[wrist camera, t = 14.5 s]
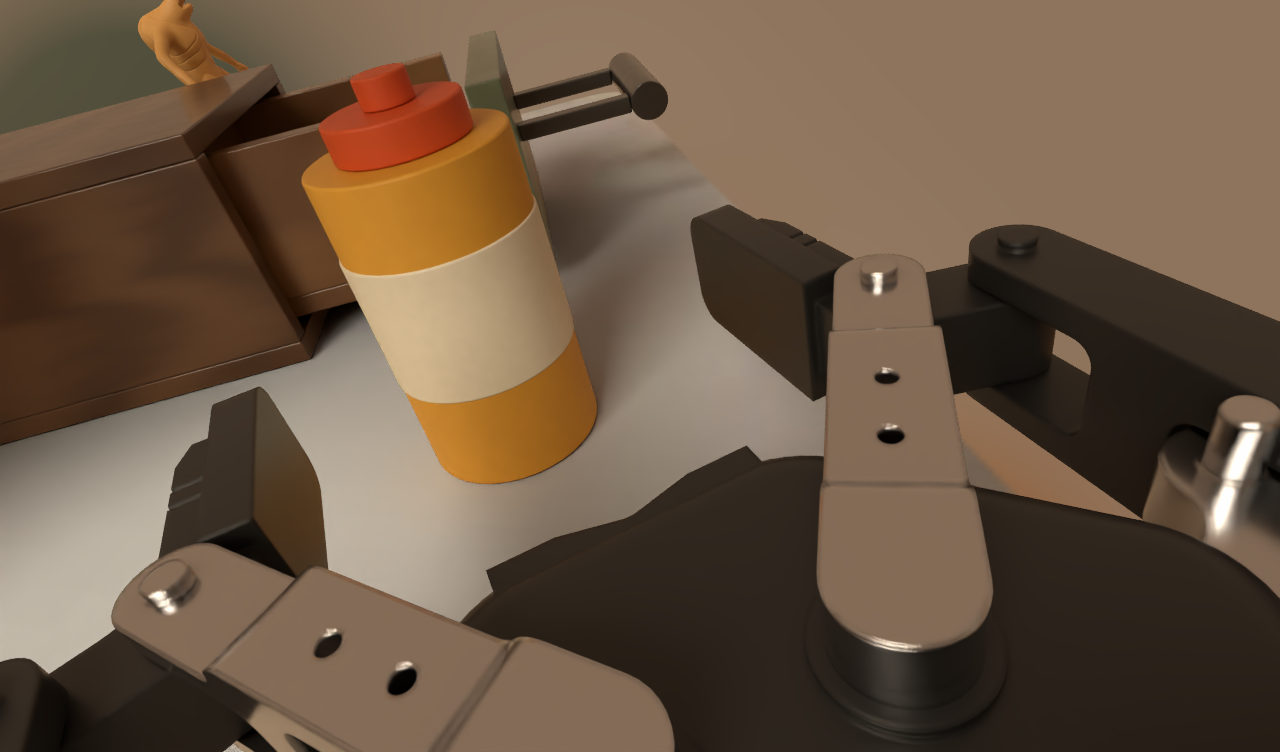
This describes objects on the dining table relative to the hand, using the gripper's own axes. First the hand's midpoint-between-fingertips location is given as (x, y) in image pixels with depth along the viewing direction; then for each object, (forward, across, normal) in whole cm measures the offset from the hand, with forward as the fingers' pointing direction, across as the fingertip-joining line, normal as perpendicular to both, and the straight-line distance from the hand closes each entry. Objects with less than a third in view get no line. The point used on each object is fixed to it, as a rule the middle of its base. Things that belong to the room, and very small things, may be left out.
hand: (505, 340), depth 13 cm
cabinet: (+22, +11, +6) cm, 26 cm away
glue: (+6, 0, +6) cm, 8 cm away
